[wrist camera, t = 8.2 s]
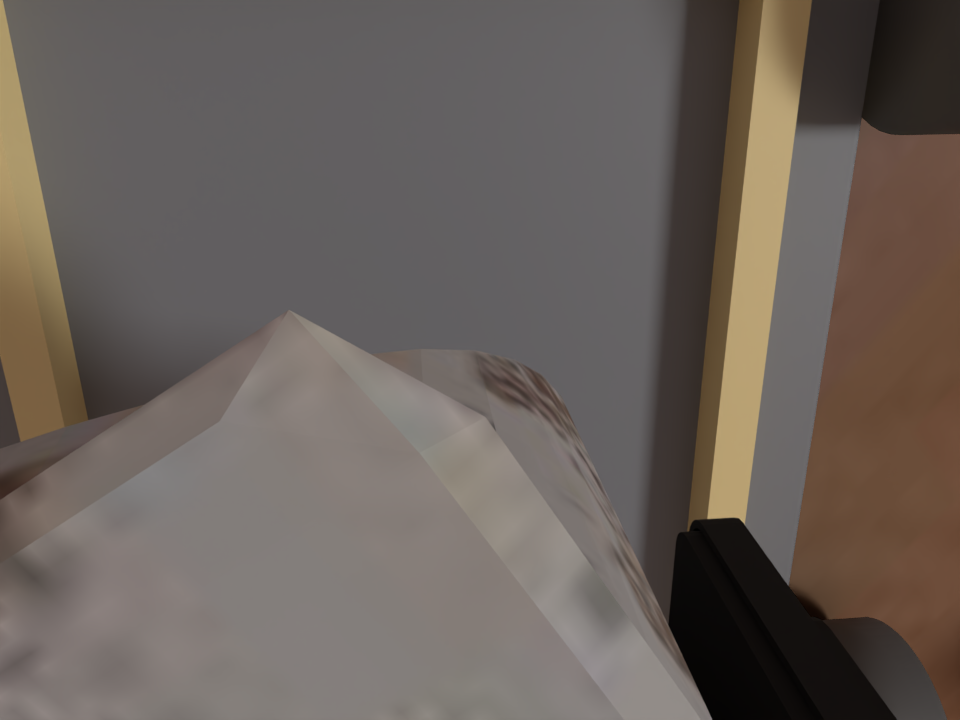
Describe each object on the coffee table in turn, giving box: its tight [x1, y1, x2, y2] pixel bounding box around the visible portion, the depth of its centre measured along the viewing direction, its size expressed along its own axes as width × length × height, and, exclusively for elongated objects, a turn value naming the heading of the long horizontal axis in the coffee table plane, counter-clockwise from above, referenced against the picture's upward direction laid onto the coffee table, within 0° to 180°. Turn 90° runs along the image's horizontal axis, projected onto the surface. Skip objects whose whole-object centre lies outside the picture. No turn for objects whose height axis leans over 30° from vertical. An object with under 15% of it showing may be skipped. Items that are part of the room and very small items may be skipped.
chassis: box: [0, 0, 960, 720], centre depth 15 cm, size 22×22×5 cm
